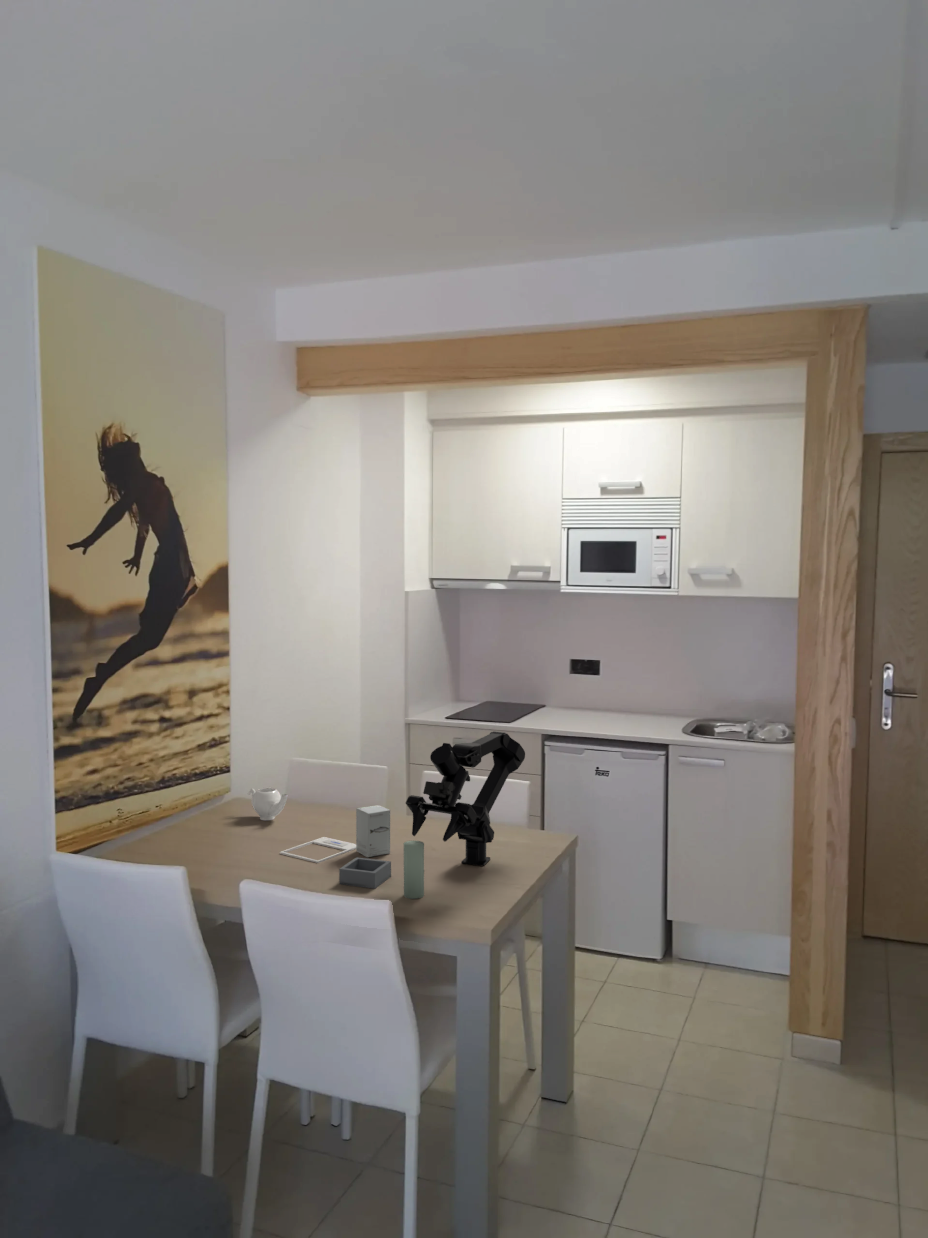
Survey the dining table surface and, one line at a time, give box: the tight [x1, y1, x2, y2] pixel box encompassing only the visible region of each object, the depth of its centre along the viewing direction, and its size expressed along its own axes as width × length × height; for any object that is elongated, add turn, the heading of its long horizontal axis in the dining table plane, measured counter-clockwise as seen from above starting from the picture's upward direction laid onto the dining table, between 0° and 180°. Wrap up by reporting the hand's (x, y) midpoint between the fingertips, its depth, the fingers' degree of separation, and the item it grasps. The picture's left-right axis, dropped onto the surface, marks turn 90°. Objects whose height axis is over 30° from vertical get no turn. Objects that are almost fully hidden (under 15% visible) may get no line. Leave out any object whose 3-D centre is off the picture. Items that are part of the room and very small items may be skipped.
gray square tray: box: [338, 856, 392, 890], centre depth 250 cm, size 10×10×4 cm
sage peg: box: [403, 840, 425, 900], centre depth 239 cm, size 5×5×13 cm
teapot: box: [247, 787, 289, 821], centre depth 309 cm, size 10×20×9 cm, turn 49°
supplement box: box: [355, 804, 391, 859], centre depth 273 cm, size 7×7×13 cm
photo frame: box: [279, 836, 356, 864], centre depth 276 cm, size 15×1×18 cm
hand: (428, 838), depth 245 cm, fingers open, 9 cm apart
